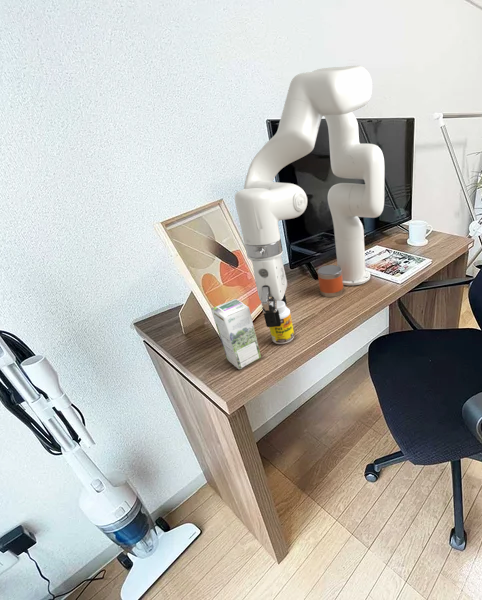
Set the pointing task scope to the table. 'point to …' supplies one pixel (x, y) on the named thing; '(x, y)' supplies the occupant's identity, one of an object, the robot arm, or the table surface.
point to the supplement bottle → (282, 325)
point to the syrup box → (236, 333)
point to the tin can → (330, 280)
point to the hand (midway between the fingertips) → (277, 315)
